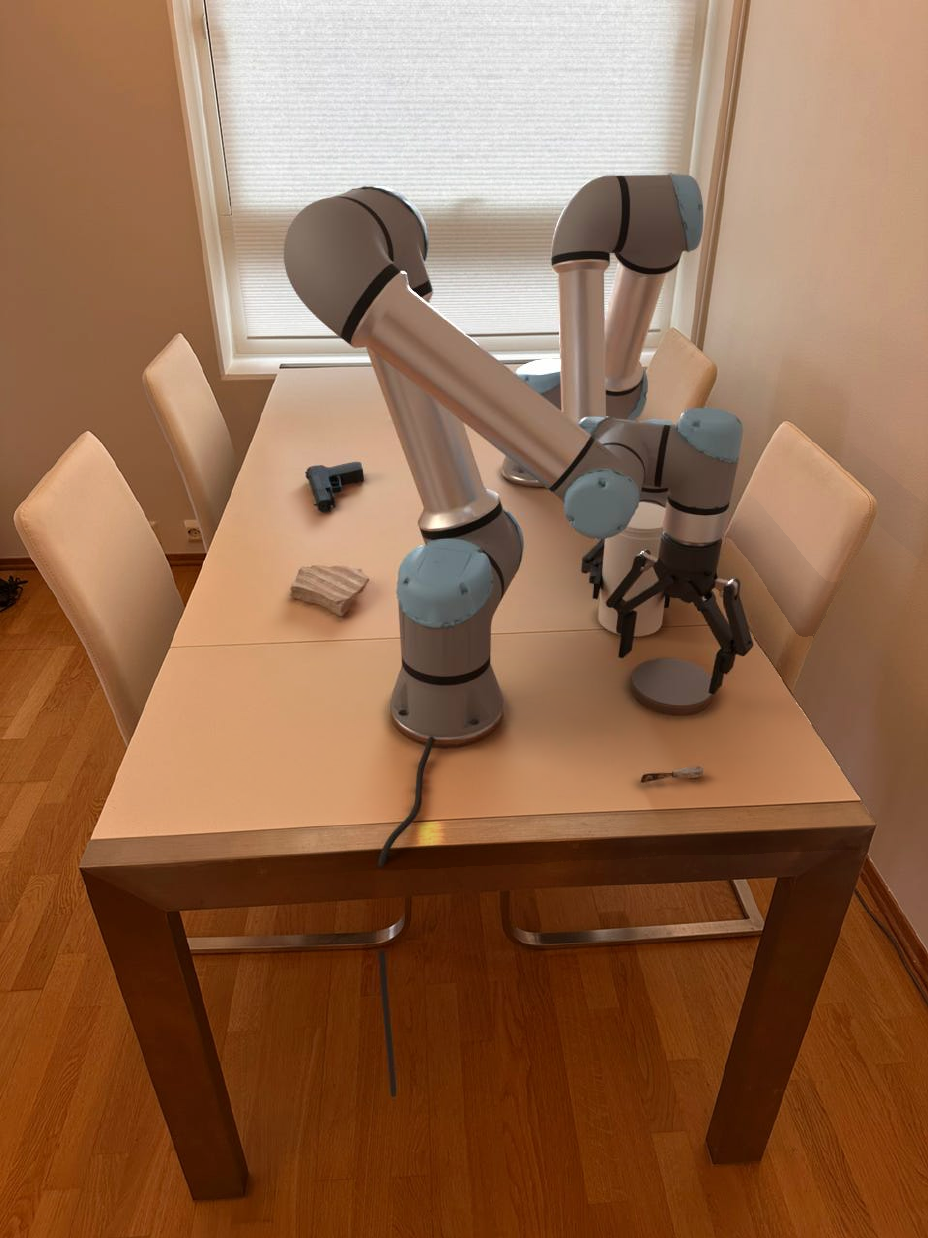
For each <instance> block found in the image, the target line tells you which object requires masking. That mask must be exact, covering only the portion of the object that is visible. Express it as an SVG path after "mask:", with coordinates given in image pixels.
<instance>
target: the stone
mask: <svg viewBox="0 0 928 1238" xmlns="http://www.w3.org/2000/svg"><path fill="white" fill-rule="evenodd" d="M369 581H370V578H369V576H368V575H367V574H365V573H363V569H362V568H354V567H351V566H348V565H333V566H327V565H321V564H319V565H317V564H316V565H315V564H313V565H311V566H303V565H302V566H300V567H299V568H298V571H297V573H296V576H295V580H294V582H293V583H292V584H291V585H290V592H289V597H291V598H294V599H296V600H300V601H303V602H306V603H307V604H315V605H318V606H321V607H323V608H325V609H326V610H328V611H329V612H331V613H333V614H334V615H336V616H337V617H343V616H344V615H345V614H346V613H347V612H349V610H350V608H351V604H352V603H353V601H354V600H355V599H356V598H357V596H358V595H360V594H361V593H362V592H364V590H365V588H366V586H367V585H368V583H369Z"/></svg>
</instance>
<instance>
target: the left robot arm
mask: <svg viewBox="0 0 928 1238" xmlns="http://www.w3.org/2000/svg"><path fill="white" fill-rule="evenodd" d="M429 242H430V241H429V233H428V228H427V225H426V222H425V220H424V217H423V215H422V213H421V212H420V211H419V209H418V207H417V206H416V205H415V204H414V203H413V202H412V201H411V200H410V199H409V198H408V197H407V196H405V195H404V194H403V193H401V192H399V191H397V190H395V189H392V188H390V187H385V186H379V185H378V186H375V185H373V186H369V185H368V186H367V185H363V186H361V187H356V188H351V189H350V190H348V191H345V192H342V193H340V194H339V193H338V194H336V195H334V196H329V197H325V198H321V199H318V200H316V201H313V202H312V203H309V204H308V205H307V206H305V207H304V208H303V209H302V210H300V211H299V212H298V213H297V214H296V216H295V217H294V218H293V219H292V222H291V223H290V225H289V227H288V228H287V232H286V235H285V239H284V243H283V262H284V267H285V273H286V276H287V278H288V280H289V283H290V285H291V287H292V289H293V291H294V292H295V294H296V295H297V297H298V298H299V299H300V301H301V302H302V303H303V304H304V305H305V307H306V308H307V309H308V310H309V311H310V312H311V313H312V314H313V315H314V316H315V317H316V318H317V319H318V321H320V322H321V323H322V324H323V325H325V326H326V327H327V328H328V329H329V330H331V332H333V333H334V334H335V335H337V337H339V338H340V339H342V340H343V341H344V342H345V343H347V344H348V345H349V346H351V347H352V348H353V349H359V348H365V349H366V352H367V355H368V358H369V360H370V363H371V365H372V368H373V371H374V374H375V378H376V379H377V382H378V384H379V389H380V391H381V393H382V396H383V398H384V402H385V404H386V407H387V410H388V412H389V416H390V418H391V420H392V424H393V426H394V428H395V432H396V434H397V437H398V440H399V443H400V445H401V448H402V451H403V454H404V456H405V460H406V462H407V465H408V469H409V471H410V473H411V476H412V479H413V481H414V484H415V487H416V491H417V493H418V496H419V498H420V501H421V504H422V506H423V509H422V512H421V513H420V515H419V517H418V519H417V526H418V528H419V532H420V534H421V537H422V539H423V540H422V541H423V542H424V544H420V545H418V546H416V547H414V548H413V549H411V550H410V551H409V552H408V553H406V555H405V556H404V558H403V559H402V561H401V563H400V564H399V567H398V572H397V582H396V591H395V592H396V599H397V603H398V620H399V633H400V634H399V638H400V639H399V640H400V655H401V667H400V669H399V672H398V675H397V678H396V681H395V684H394V687H393V690H392V693H391V696H390V703H389V706H390V718H391V721H392V724H393V725H394V727H395V728H396V729H397V731H398V732H399V733H400V734H402V735H403V736H404V737H406V738H407V739H409V740H411V741H413V742H415V743H417V744H420V745H421V744H422V745H425V747H424V749H423V753H422V755H421V758H420V760H419V763H418V765H417V769H416V776H415V792H414V804H413V806H412V809H411V811H410V812H409V814H408V816H407V817H406V818H405V819H404V820H403V821H402V822H401V823H400V824H399V825H398V826H397V827H396V828H395V829H394V830H393V831H392V832H391V833H390V835H389V836H388V838H387V839H386V841H385V842H384V845H383V847H382V849H381V852H380V854H379V858H378V861H377V865H378V866H379V867H384V866H385V865H386V862H387V859H388V855H389V853H390V851H391V848H392V847H393V845H394V844H395V841H396V840H397V839H398V837H399V836H400V835H401V834H402V833H403V832H404V831H405V830H406V829H407V828H408V827H409V826H411V824H412V823H414V821H415V819H416V818H417V816H418V814H419V812H420V809H421V806H422V798H423V786H424V785H423V784H424V783H423V782H424V772H425V768H426V764H427V762H428V760H429V757H430V755H431V751H432V750H433V747H437V748H454V747H455V748H457V747H463V746H467V745H471V744H473V743H476V742H480V741H481V740H483V739H485V738H486V737H488V736H489V735H491V734H492V733H493V732H494V731H495V730H496V729H498V727H499V726H500V724H501V722H502V720H503V717H504V696H503V693H502V690H501V687H500V685H499V682H498V679H497V677H496V674H495V672H494V668H493V666H492V664H491V654H492V653H491V651H492V649H491V648H492V647H491V645H492V621H493V618H494V616H495V613H496V611H497V609H498V607H499V606H500V604H501V601H502V600H503V598H504V596H505V594H506V592H507V591H508V589H509V587H510V586H511V584H512V581H513V580H514V578H515V577H516V575H517V574H518V571H519V570H520V566H521V564H522V560H523V554H524V549H525V542H524V541H525V540H524V534H523V530H522V527H521V526H520V524H519V522H518V520H517V518H515V516H514V515H513V514H512V513H511V511H509V510H506V509H505V508H504V507H503V504H502V501H501V498H500V496H499V494H498V493H497V492H495V491H494V490H491V489H490V488H487V487H486V486H485V485H484V482H483V480H482V476H481V472H480V470H479V467H478V464H477V461H476V458H475V455H474V451H473V449H472V446H471V443H470V439H469V436H468V434H467V430H466V427H465V425H467V426H468V428H470V429H472V430H473V431H474V432H475V433H477V434H478V435H479V436H480V437H481V438H483V439H484V440H486V442H488V443H489V444H491V446H493V447H494V448H495V449H497V450H498V451H499V452H501V454H503V455H504V456H505V455H506V456H507V457H508V458H509V459H511V460H512V461H513V462H515V463H516V464H517V465H518V466H520V467H521V468H522V469H523V470H525V471H526V472H527V473H529V474H530V475H531V476H532V477H534V478H535V479H536V480H537V481H539V482H540V483H541V484H542V485H544V486H545V487H544V488H546V489H547V490H549V492H551V493H552V494H553V495H554V496H556V497H557V498H558V499H559V500H561V501H562V502H563V510H564V515H565V518H566V520H567V522H568V523H569V525H570V526H571V528H572V529H573V530H574V531H575V532H576V533H578V534H580V535H581V536H584V537H586V538H590V539H594V540H600V539H606V538H610V537H613V536H615V535H617V534H619V533H620V532H622V531H623V530H624V529H625V528H626V527H627V525H628V524H629V522H630V520H631V518H632V516H633V515H634V514H635V511H636V509H637V508H638V506H639V502H640V493H641V489H642V487H643V485H645V486H654V487H666V488H669V492H668V497H667V503H666V509H665V515H664V521H663V529H664V530H663V532H662V535H661V542H660V548H659V558H656V557H653V556H651V553H650V551H649V550H647V549H645V550H643V551H642V552H641V553H639V554H638V555H637V556H636V557H635V558H634V562H633V565H632V569H631V570H630V572H629V573H628V574H627V575H626V577H625V578H624V579H623V581H622V582H621V583H620V584H619V586H618V587H617V588H616V590H615V591H614V592H613V593H612V595H611V596H610V597H609V598H608V600H607V601H606V605H607V607H609V608H614V609H615V610H616V611H617V613H618V618H617V625H616V631H617V633H619V634H621V635H620V639H619V647H618V654H617V657H618V658H620V659H624V658H626V657H627V656H628V655H629V654H630V653H631V652H632V651H633V645H634V638H635V637H634V631H635V624H636V617H637V611H634V610H633V609H634V608H636V607H637V606H639V605H641V604H642V603H644V602H645V601H647V600H648V599H650V598H651V597H653V596H655V595H656V594H658V593H660V592H661V591H663V590H664V591H665V593H667V594H668V597H670V599H678V600H680V601H682V602H683V603H686V604H688V605H689V604H691V603H692V604H693V605H694V607H695V609H696V611H697V612H699V613H701V615H702V617H703V619H704V620H705V623H706V624H707V626H708V628H709V629H710V631H711V633H712V635H713V636H714V638H715V641H716V642H717V644H718V646H719V647H720V648H719V649H718V650H717V651H716V654H715V658H714V663H713V667H712V673H711V682H710V687H709V692H708V693H710V694H713V696H714V695H715V694H717V692H718V691H719V689H720V688H721V687H722V685H723V682H724V677H725V675H729V674H730V672H731V671H732V669H733V668H734V665H735V661H736V656H737V655H739V656H740V657H745V656H746V655H747V654H748V653H749V652H750V651H751V650H752V648H753V647H754V640H753V638H752V633H751V631H750V627H749V624H748V621H747V617H746V614H745V610H744V606H743V603H742V600H741V595H740V590H741V580H740V579H739V578H737V577H733V578H732V579H730V580H728V579H724V578H719V576H718V572H717V571H718V566H719V562H720V556H721V551H722V546H723V537H724V534H725V530H726V525H727V520H728V515H729V509H730V504H731V503H730V502H731V499H732V498H731V497H732V494H733V488H734V484H735V479H736V474H737V471H738V465H739V461H740V453H741V447H742V438H743V433H744V432H743V431H744V426H743V423H742V421H741V419H740V418H739V417H738V416H737V415H736V414H734V413H733V412H731V411H728V410H725V409H723V408H722V409H721V408H717V407H709V406H707V407H706V406H705V407H691V408H688V409H685V410H684V411H683V412H681V414H680V415H679V419H678V421H677V422H676V424H675V425H664V424H656V423H648V422H642V421H640V420H639V421H638V420H635V421H632V420H624V419H616V418H614V417H609V416H608V417H585V418H583V419H582V420H581V421H580V422H579V424H577V423H575V422H574V421H573V420H572V419H570V418H569V417H568V416H567V415H566V414H564V413H563V412H562V411H561V410H559V409H558V408H557V407H556V406H554V405H553V404H552V403H551V402H549V401H548V400H547V399H546V398H544V397H543V396H542V395H541V394H540V393H538V392H537V391H536V390H535V389H533V388H532V387H531V386H530V385H528V384H527V383H526V382H525V381H523V380H522V379H521V378H520V377H518V376H517V375H516V374H515V372H514V371H513V370H511V369H510V368H509V367H507V366H506V365H505V364H504V363H502V362H501V361H500V360H499V359H498V358H496V357H495V356H494V355H493V354H491V353H490V352H489V351H488V350H486V349H485V348H484V347H483V346H482V345H481V344H479V342H477V341H476V340H474V339H473V338H472V337H470V336H469V335H468V334H467V333H465V332H464V331H463V330H462V329H461V328H459V327H458V326H457V325H456V324H454V323H453V322H452V321H450V319H448V318H447V317H446V316H445V315H443V314H442V313H441V312H439V311H438V310H437V309H436V308H434V307H433V306H432V305H431V304H430V302H431V300H432V298H433V295H434V289H433V286H432V282H431V280H430V275H429V272H428V269H427V266H426V260H427V257H428V252H429V245H430V243H429ZM464 424H465V425H464ZM651 567H653V568H654V571H655V573H656V575H657V577H658V581H656V582H655V583H653V584H652V585H650V586H649V587H647V588H646V589H644V590H643V591H641V592H640V593H638V594H637V595H635V596H634V597H632V598H631V599H629V600H628V601H625V600H624V599H622V598H623V597H624V596H625V594H626V593H627V592H628V591H629V589H630V588H631V587H632V586H633V584H634V583H635V582H636V581H637V579H638V578H639V577H640V576H641V574H642V573H643V572H644V571H647V570H648V569H650V568H651ZM714 589H716V590H717V591H718V593H719V595H718V596H719V597H720V598H722V603H723V608H724V612H725V614H724V613H723V611H722V609H721V607H720V606H719V604H718V603H717V596H716V594H715V593H714V591H713V590H714ZM703 598H704V599H703ZM631 610H632V611H631ZM725 615H726V617H725ZM619 634H618V635H619ZM378 966H379V979H380V980H379V982H380V993H381V1004H382V1014H383V1015H382V1016H383V1025H384V1033H385V1034H384V1035H385V1036H384V1037H385V1045H386V1055H387V1067H388V1079H389V1090H390V1092H389V1094H390V1096H391V1097H392V1098H395V1097H396V1096H397V1094H398V1093H397V1080H396V1069H395V1056H394V1055H395V1054H394V1047H393V1046H394V1045H393V1044H394V1043H393V1036H392V1035H393V1034H392V1023H391V1014H390V1001H389V989H388V977H387V975H388V974H387V956H386V951H385V950H381V949H378Z"/></svg>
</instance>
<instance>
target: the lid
mask: <svg viewBox="0 0 928 1238" xmlns="http://www.w3.org/2000/svg"><path fill="white" fill-rule="evenodd" d="M711 678H712V675H710V673H709V672H708V671H706V670H705V669H704V668H703V667H701V666H700V665H697V664H696V663H693V662H691V661H689V660H685V659H680V658H673V657H658V658H657V657H656V658H653V659H648V660H645V661H643V662H641V663H640V664H638V665H637V666H636V667H635V668H634V669H633V671H632V674H631V681H630V682H631V683H630V691H631V693H632V696H633V697H634V699H635V700H636V701H637V702H638V703H640V704H641V705H642V706H644V707H646V708H647V709H649V710H652V711H653V712H656V713H658V714H659V713H660V714H663V715H668V716H669V715H670V716H689V715H694V714H697V713H699V712H702V711H704V710H705V709H706V708H708V706H710V704H711V703H712V701H713V696H714V695H713V694H710V693H708V692H709V687H710V682H711Z"/></svg>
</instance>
